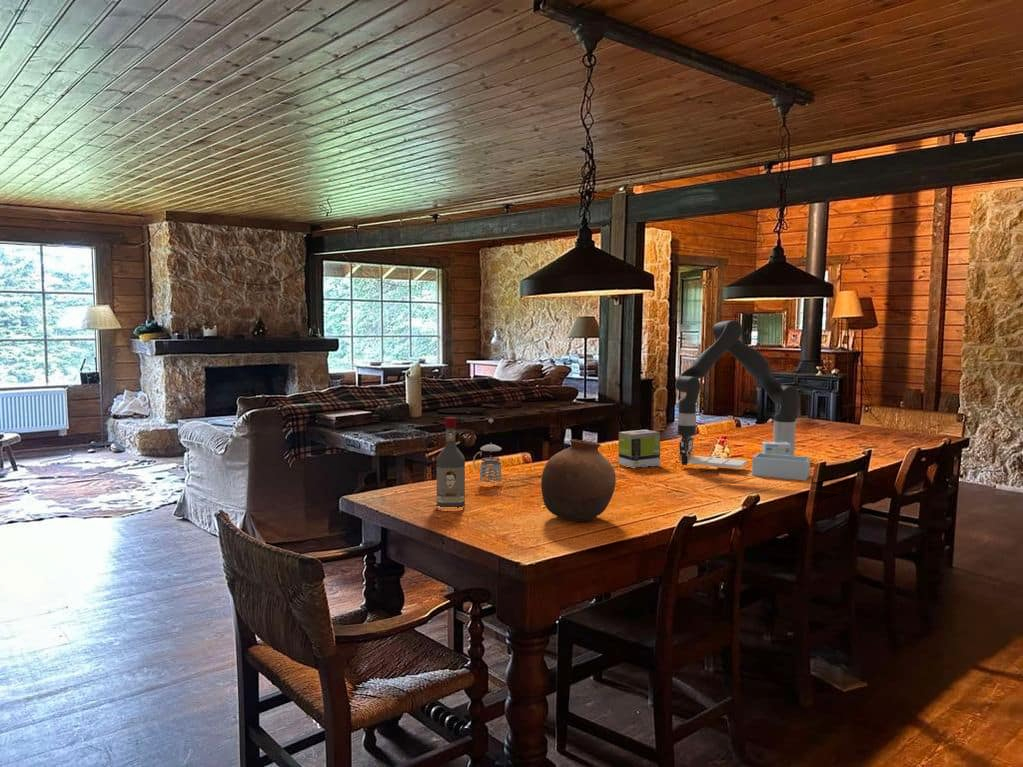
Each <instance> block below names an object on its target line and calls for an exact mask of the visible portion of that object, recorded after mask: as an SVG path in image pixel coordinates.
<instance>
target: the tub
mask: <svg viewBox="0 0 1023 767" xmlns="http://www.w3.org/2000/svg"><path fill="white" fill-rule="evenodd" d="M751 469H752V473H751V475H752V476H755V477H756V476H758V477H767V478H774V479H775V478H777V479H787V480H788V479H789V480H795V481H796V480H797V481H798V480H799V481H807V479H809V477H810V476H811V475H810V474H811V473H810V472H811V470H810V469H811V457H810V456H798V455H794V456H789V455H777V454H765V453H762V452H757V453H756V454H755V455H754V456H752V468H751Z"/></svg>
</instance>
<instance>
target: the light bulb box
mask: <svg viewBox="0 0 1023 767" xmlns="http://www.w3.org/2000/svg"><path fill="white" fill-rule="evenodd" d="M761 453H765V454H777V455H789V456H790V454H791V444H789V443H788V442H773V441H761Z"/></svg>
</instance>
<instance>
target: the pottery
mask: <svg viewBox="0 0 1023 767" xmlns="http://www.w3.org/2000/svg"><path fill="white" fill-rule="evenodd" d="M569 441H570V444H571V446H569V447H567V448H565V449H563V450H561V451H559V452H557V453H555V454H554V455H553V456H551V457H550V458H549V459H548V461H547V462H546V463H545V465H544V467H543V470H542V474H541V483H540V485H541V486H540V488H541V495H542V501H543V504H544V506H545V508H546V509H547V511H549V512H550V513H551V514H553V515H555V516H556V517H559V518H561V519H565V520H569V521H574V520H575V522H576V521H577V522H584V521H590V520H592V519H594V518H596V517H598V516H601V515H602V514H603V513H604V511H605V510H606V509H607V507H608V506H609V503H610V502H611V500H612V498H613V495H614V493H615V489H616V480H617V478H616V472H615V469H614V467H613V465H612V463H610V461H609V460H608V459H607V458H606V457H605V456H604V455H603V454H601V453H600V451H599V450H598V449H599V448H600V447H601V446H602V445H601V443H599V442H594V441H587V440H583V439H580V440H579V439H573V438H570V439H569Z"/></svg>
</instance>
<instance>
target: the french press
mask: <svg viewBox="0 0 1023 767" xmlns="http://www.w3.org/2000/svg"><path fill="white" fill-rule="evenodd" d="M488 423H494V419H493V418H489V419H488ZM479 449H480V451H478V452H477V453H476V454H475V455H474V456H473V459H472V463H473V468H474V469H475V470H476V471H478V472H479V478H480V480H481V481H484V482H491V481H489V480H486V479H485V480H482V478H488V479H490V480H493V481H498V482H500V481H501V482H502V462H500V461H501V458H499V457H495V456H493V457H492V456H489V457H483V458H481V459H480V460H481V461H482V462H481V463H480V468H478V467H477V465H476V457H477V455H478V454H479V455H480V457H481V456H482V455H483V452H500V451H501V450H502V447H501V446H498V445H496V444H493V443H489V444H485V445H482V446H481V447H480V448H479ZM482 451H483V452H482ZM492 478H496V479H492ZM480 480H479V481H480ZM491 483H495V482H491Z"/></svg>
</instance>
